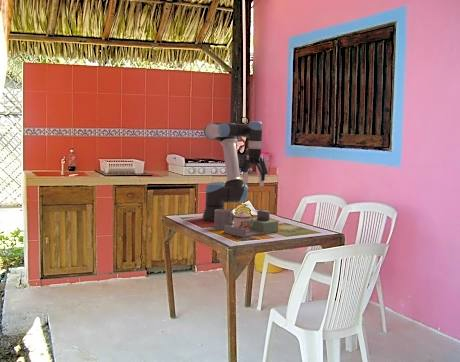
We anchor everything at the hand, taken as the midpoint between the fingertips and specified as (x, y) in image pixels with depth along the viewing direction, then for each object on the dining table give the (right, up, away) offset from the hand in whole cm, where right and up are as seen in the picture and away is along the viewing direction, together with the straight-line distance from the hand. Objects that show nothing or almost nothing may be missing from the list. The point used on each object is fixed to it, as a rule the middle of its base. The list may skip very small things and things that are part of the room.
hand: (253, 184), depth 321 cm
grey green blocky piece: (-2, -26, -10) cm, 29 cm away
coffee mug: (-16, -25, +2) cm, 30 cm away
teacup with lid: (-6, -26, -14) cm, 30 cm away
